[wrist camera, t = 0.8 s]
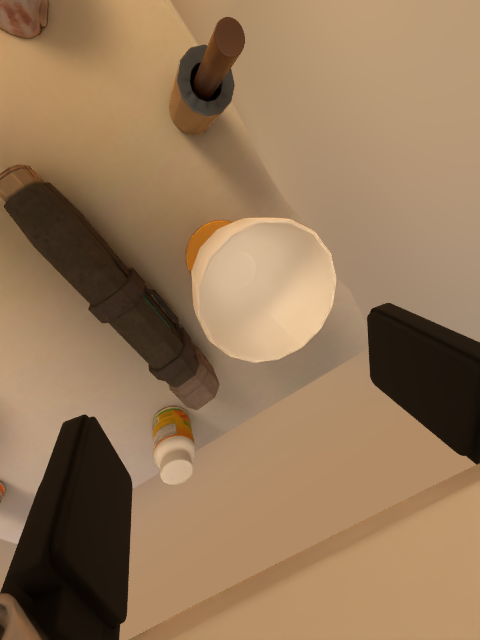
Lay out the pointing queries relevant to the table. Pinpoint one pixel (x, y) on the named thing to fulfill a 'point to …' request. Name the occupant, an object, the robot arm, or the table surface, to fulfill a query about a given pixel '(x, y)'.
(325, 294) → the cup
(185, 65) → the holder
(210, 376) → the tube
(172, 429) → the supplement bottle
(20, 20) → the seashell
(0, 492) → the pill bottle
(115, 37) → the table surface
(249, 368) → the table surface
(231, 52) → the stick
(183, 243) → the table surface
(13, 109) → the table surface
